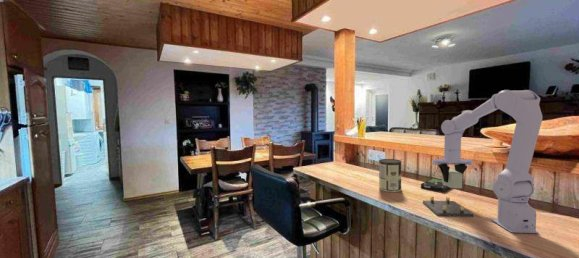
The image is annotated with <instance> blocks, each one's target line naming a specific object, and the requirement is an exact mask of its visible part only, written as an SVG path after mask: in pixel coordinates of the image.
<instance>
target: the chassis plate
mask: <svg viewBox="0 0 579 258" xmlns="http://www.w3.org/2000/svg"><path fill="white" fill-rule="evenodd" d="M422 204H423V205H424V206H426V207H427V208H428V209H429V210H430V211H431V212H433V213H434V214H435V215H436V216H438V217H466V218H467V217H468V218H470V217H472V218H474V213H473V212H471V211H469V210H468V209H467V208H465V206H462V205H461V204H459V203H458V202H456V201H454V200H451V199H450V196H446V198H445V200H435V197H434V196H430V200H422Z"/></svg>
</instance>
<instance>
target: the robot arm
mask: <svg viewBox="0 0 579 258" xmlns="http://www.w3.org/2000/svg"><path fill="white" fill-rule="evenodd" d="M540 102H541V97H540V96H539V95H538V94H536V93H535V92H534V91H533V90H530V89H523V90H510V89H504V90H500V91H498V93H495V94H492V96H491V98H489V99H488V100H486V101H485V102H484V103H482V104H480V105H479V106H478V107H476V108H474V109H473V110H470V109H467V110H462V111H461V114H459V115H457V116H454V117H452V119H451V120H449V119H446V120H445V119H444V121H443V122H442V123H441V126H440V129H441V131H442V133H443V134H444V141H443V143H444V144H443V145H444V148H443V149H444V152H443V153H444V155H443V156H444V157H443V158H438V159H432V165H435V166H438V168H439V169H440V172H441V176H442V175H443V179H444V181H445V182H448V174H449V169H450V168H451V167H450V166H449V165H451V166H452V165H454V170H455V171H457V172H460V173H462V176H463V174H464V173H465V171H466V170H467V169H468V166H472V165H473V163H474V162H473V159H468V158H467V159H464V158H463V159H462V157H461V155H462V152H461V151H462V138H463V134H464V132H465V130H466V129H468V128H471V127H472V126H474V125H476V124H477V123H478V122H479V120H480V118H482V117H484V116H487V115H489V114H491V113H493V112H495V111H497V110H500V111H502V112H503V113H505V114H507V115H509V116H511V118H513V119H514V121H515V122H516V123H515V128H514V132H513V135H512V140H511V145H510V148H509V152H508V156H507V161H506V165H505V168H504V169H503V170H502V171H500V173H498V175H497V178H496V180H495V181H494V182H493V183H492V190H493V193H494V195H495V196H496V198H497V217H496V218H495V217H492V218H490V220H491V221H492V222H494V223H495V224H497V225H499V226H500V227H502V228H503V229H505V230H506V231H509V233H519V234H520V233H521V234H523V233H525V234H539V231H538V230H537V228H536V227H537V211H536V209H534V207H532V206H531V205H530V204H529V202H528V201H529V200H530V196H532V195H533V194H534V193H535V186H534V179H535V178H534V176H533V175H532V174H530V173H529V172H530V169H531V168H530V167H531V164H532V160H533V156H534V153H535V148H536V145H537V142H538V141H537V140H538V138H539V137H538V136H539V133H540V130H541V126H542V123H543V112H542V111H541V107H540Z"/></svg>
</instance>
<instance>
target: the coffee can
mask: <svg viewBox="0 0 579 258" xmlns="http://www.w3.org/2000/svg"><path fill="white" fill-rule="evenodd" d="M378 168H379V169H378V175H379V176H378V177H379V178H378V183H379V184H378V185H379V186H378V189H379V190H381V191H384V192H386V193H399V192H401V191H402V160H400V159H397V158H396V159H394V158H381V159H378Z"/></svg>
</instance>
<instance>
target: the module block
mask: <svg viewBox="0 0 579 258" xmlns="http://www.w3.org/2000/svg"><path fill="white" fill-rule="evenodd" d="M441 180H442V183H443V184H445V185H447V186H448V187H450V188H451V189H463V175H462V173H460V172H457V171H455V169H453V168H451V169H449V174H448V182H445V181H444V179H443V175H442V174H441Z"/></svg>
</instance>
